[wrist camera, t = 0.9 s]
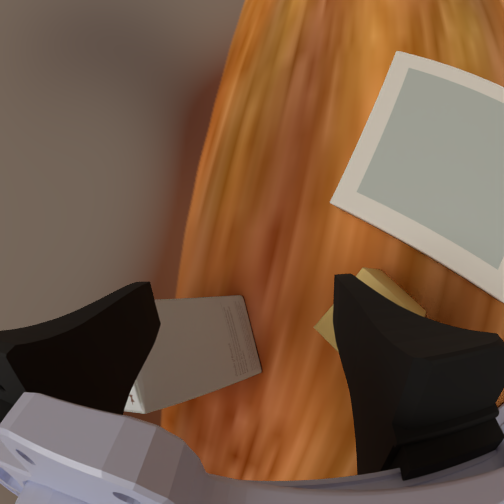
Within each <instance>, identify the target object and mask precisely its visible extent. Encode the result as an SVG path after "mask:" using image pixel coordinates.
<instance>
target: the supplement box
mask: <svg viewBox="0 0 504 504" xmlns="http://www.w3.org/2000/svg"><path fill="white" fill-rule="evenodd" d="M155 304H156V308H157V311H158V315H159V319H160V322H161V326H160V329H159V332H158V335H157V338H156V341H155V343H154V345H153V348H152V350H151V351H150V353H149V355H148V357H147V359H146V361H145V363H144V365H143V367H142V369H141V371H140V373H139V375H138V377H137V379H136V380H135V382H134V385H133V387H132V389H131V391H130V394H129V397H128V400H127V403H126V406H125V409H124V411H128V412H137V413H143V414H146V413H149V412H152V411H156V410H159V409H163V408H166V407H169V406H172V405H175V404H178V403H181V402H184V401H187V400H190V399H193V398H196V397H199V396H202V395H205V394H207V393H210V392H213V391H216V390H218V389H221V388H224V387H226V386H229V385H231V384H234V383H236V382H239V381H242V380H244V379H247V378H249V377H251V376H254V375H256V374H259V373H261V372H262V370H261V366H260V362H259V358H258V354H257V350H256V346H255V342H254V338H253V334H252V330H251V326H250V322H249V318H248V314H247V310H246V306H245V302H244V299H243V297H242V296H241V295H238V296H220V297H202V298H184V299H162V300H155Z"/></svg>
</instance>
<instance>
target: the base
mask: <svg viewBox="0 0 504 504" xmlns="http://www.w3.org/2000/svg"><path fill="white" fill-rule="evenodd" d="M330 203H331V204H333V205H334V206H336V207H338V208H339V209H341V210H343V211H345V212H347V213H349V214H351V215H353V216H355V217H357V218H359V219H361V220H363V221H365V222H367V223H369V224H371V225H372V226H374V227H376V228H378V229H380V230H382V231H384V232H386V233H387V234H389V235H391V236H393V237H395V238H397V239H398V240H400V241H402V242H404V243H406V244H407V245H409V246H411V247H413V248H414V249H416V250H418V251H420V252H421V253H423V254H425V255H427V256H428V257H430V258H432V259H433V260H435V261H437V262H438V263H440V264H442V265H443V266H445V267H447V268H448V269H450V270H452V271H453V272H455V273H457V274H458V275H460V276H461V277H463V278H465V279H466V280H468V281H469V282H471V283H472V284H474V285H476V286H477V287H479V288H480V289H482V290H483V291H485V292H486V293H488V294H489V295H491V296H492V297H494V298H495V299H497V300H498V301H500V302H503V303H504V87H502V86H500V85H497V84H495V83H493V82H491V81H488V80H486V79H484V78H481V77H479V76H476V75H474V74H471V73H468V72H466V71H463V70H460V69H457V68H455V67H452V66H449V65H446V64H443V63H440V62H436V61H433V60H430V59H426V58H423V57H419V56H416V55H412V54H408V53H404V52H400V51H396V54H395V56H394V59H393V61H392V64H391V66H390V69H389V71H388V74H387V76H386V78H385V81H384V83H383V86H382V88H381V91H380V93H379V95H378V98H377V100H376V102H375V105H374V107H373V109H372V112H371V114H370V116H369V119H368V121H367V123H366V125H365V128H364V130H363V132H362V134H361V137H360V139H359V141H358V143H357V146H356V148H355V150H354V152H353V154H352V157H351V159H350V161H349V163H348V165H347V167H346V170H345V172H344V174H343V176H342V178H341V180H340V182H339V184H338V187H337V189H336V191H335V193H334V195H333V197H332V199H331V201H330Z"/></svg>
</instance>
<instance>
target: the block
mask: <svg viewBox="0 0 504 504" xmlns="http://www.w3.org/2000/svg"><path fill="white" fill-rule="evenodd" d="M356 277H357V278H358V279H360V280H361V281H362V282H364V283H365V284H367V285H368V286H369V287H371V288H372V289H374V290H375V291H377V292H378V293H380V294H381V295H383V296H384V297H386V298H387V299H389V300H391V301H392V302H394V303H396V304H398V305H399V306H401V307H403V308H405V309H407V310H409V311H411V312H414V313H416V314H418V315H420V316H423V317H425V314H426V312H427V311H426V310H424V309H423V308H422V307H421V306H420V305H419V304H418V303H417V302H416V301H415V300H414V299H413V298H412V297H410V296H409V295H408V294H407V293H406V292H405V291H404V290H403V289H402V288H401V287H399V286H398V285H397V284H396V283H395V282H394V281H393V280H392V279H390V278H389V277H388V276H387V275H386V274H385V273H384V272H383V271H381V270H380V269H372V268H362V269H361V271H360V272H359V273H358V274H357V276H356ZM333 305H334V304H333ZM333 305H332V306H331V308H330V309H329V310H328V311H327V312H326V314H325V315H324V316H323V317H322V318H321V319H320V321H319V322H318V323H317V324H316V325H315V326H314V328H315V329H316V330H317V331H318V332H319V333H320V334H321V335H322V336H323V337H324V338H325V339H326V340H327V341H328V342H329V343H330V344H331V345H332V346H333V347H334V348H335V349H336V350H337V351H338V348H337V344H336V340H335V333H334V327H333ZM338 352H339V351H338Z"/></svg>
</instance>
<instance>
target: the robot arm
mask: <svg viewBox="0 0 504 504" xmlns="http://www.w3.org/2000/svg"><path fill="white" fill-rule="evenodd" d="M160 326H161V322H160V319H159V315H158V311H157V308H156V304H155V300H154V296H153V292H152V288H151V284H150V282H135V283H132V284H130V285H127V286H125V287H123V288H121V289H119V290H117V291H115V292H113V293H111V294H109V295H107V296H105V297H104V298H101V299H100V300H98V301H95V302H93V303H91V304H89V305H87V306H85V307H83V308H81V309H79V310H77V311H74V312H72V313H70V314H67V315H64V316H62V317H59V318H57V319H53V320H50V321H47V322H43V323H40V324H37V325H33V326H29V327H24V328H19V329H12V330H4V331H0V484H2V485H3V486H4V487H6V488H7V489H8V490H10V491H11V492H12V493H14V494H15V495H17V496H18V499H17V500H16V503H15V504H504V403H503V404H502V405H501V406H500V407H499V408H497V406H496V404H495V403H496V401H497V399H498V397H499V396H500V394H501V392H502V390H503V388H504V342H503V340H502V339H501V338H500V337H499V335H498V334H496V333H488V332H480V331H472V330H467V329H462V328H458V327H453V326H450V325H446V324H443V323H439V322H437V321H434V320H431V319H428V318H425V317H423V316H420V315H418V314H416V313H414V312H411V311H409V310H407V309H405V308H403V307H401V306H399V305H398V304H396V303H394V302H392V301H391V300H389V299H387V298H386V297H384V296H383V295H381V294H380V293H378V292H377V291H375V290H374V289H372V288H371V287H369V286H368V285H367V284H365V283H364V282H362V281H361V280H360V279H358V278H357V277H355V276H354V275H352V274H338V275H335V279H334V305H333V327H334V333H335V340H336V344H337V348H338V351H339V355H340V358H341V362H342V365H343V369H344V372H345V376H346V379H347V383H348V387H349V391H350V396H351V403H352V410H353V418H354V428H355V438H356V452H357V473H358V475H355V476H348V477H339V478H329V479H317V480H300V481H248V480H237V479H232V478H227V477H222V476H218V475H213V474H209V473H206V471H205V469H204V467H203V465H202V463H201V461H200V459H199V457H198V456H197V455H196V454H195V453H194V452H193V451H192V450H191V449H190V447H189V446H188V445H187V444H186V443H185V442H184V441H183V440H182V439H181V438H179V437H177V436H175V435H174V434H172V433H170V432H168V431H167V430H165V429H163V428H161V427H160V426H158V425H155V424H152V423H149V422H146V421H142V420H139V419H136V418H133V417H130V416H125V415H123V412H124V409H125V406H126V403H127V400H128V397H129V394H130V391H131V389H132V387H133V385H134V382H135V380H136V379H137V377H138V375H139V373H140V371H141V369H142V367H143V365H144V363H145V361H146V359H147V357H148V355H149V353H150V351H151V350H152V348H153V345H154V343H155V341H156V338H157V335H158V332H159V329H160Z"/></svg>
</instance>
